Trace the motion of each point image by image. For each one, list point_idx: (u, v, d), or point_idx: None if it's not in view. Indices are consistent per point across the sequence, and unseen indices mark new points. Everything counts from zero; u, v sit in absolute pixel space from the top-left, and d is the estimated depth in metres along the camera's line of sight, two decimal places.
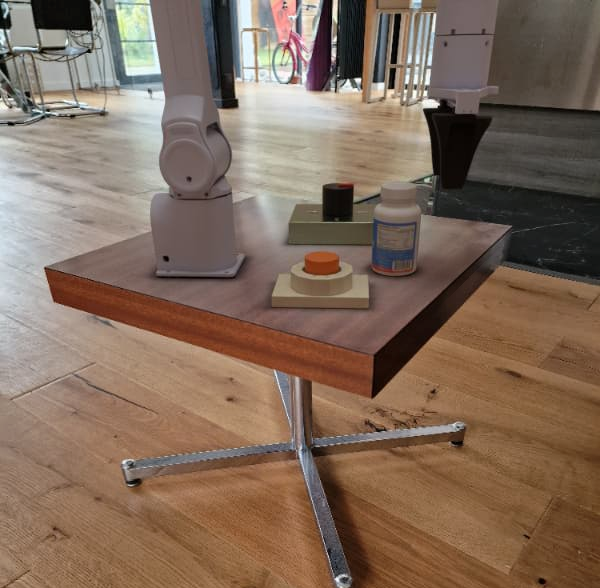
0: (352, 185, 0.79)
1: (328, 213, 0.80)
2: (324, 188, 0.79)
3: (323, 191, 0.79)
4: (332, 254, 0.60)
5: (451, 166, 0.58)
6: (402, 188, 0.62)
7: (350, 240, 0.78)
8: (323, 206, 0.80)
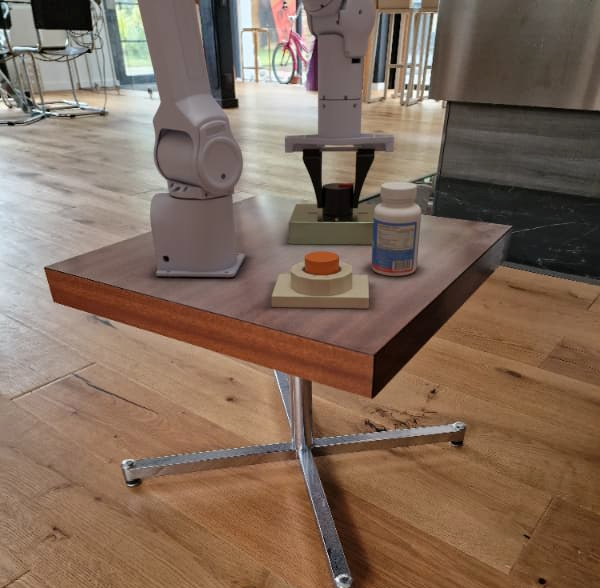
0: (352, 185, 0.79)
1: (328, 213, 0.80)
2: (324, 188, 0.79)
3: (323, 191, 0.79)
4: (332, 254, 0.60)
5: None
6: (402, 188, 0.62)
7: (350, 240, 0.78)
8: (323, 206, 0.80)
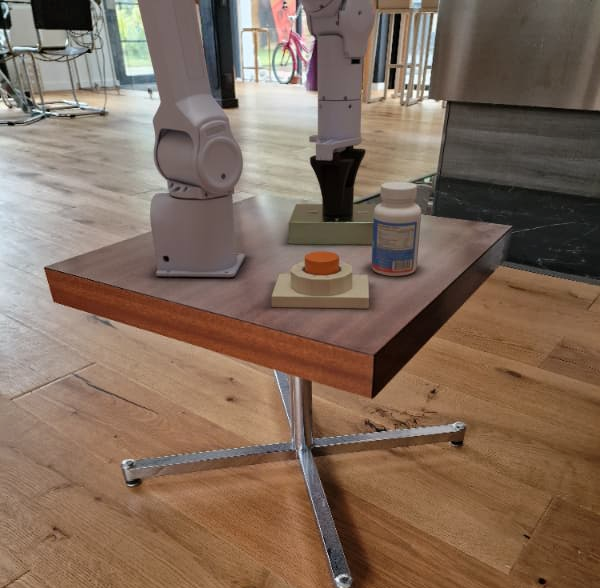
0: None
1: (347, 213, 0.80)
2: None
3: None
4: (332, 254, 0.60)
5: None
6: (402, 188, 0.62)
7: (350, 240, 0.78)
8: None
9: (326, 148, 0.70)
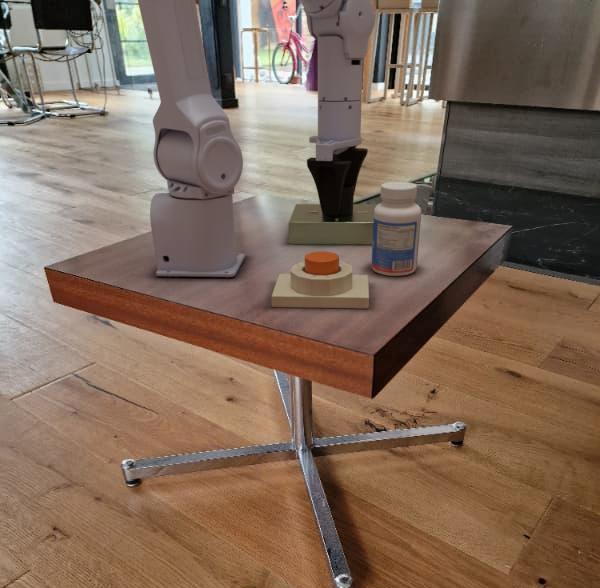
0: None
1: (347, 213, 0.80)
2: (342, 189, 0.78)
3: None
4: (332, 254, 0.60)
5: None
6: (402, 188, 0.62)
7: (350, 240, 0.78)
8: (339, 208, 0.79)
9: (326, 149, 0.70)
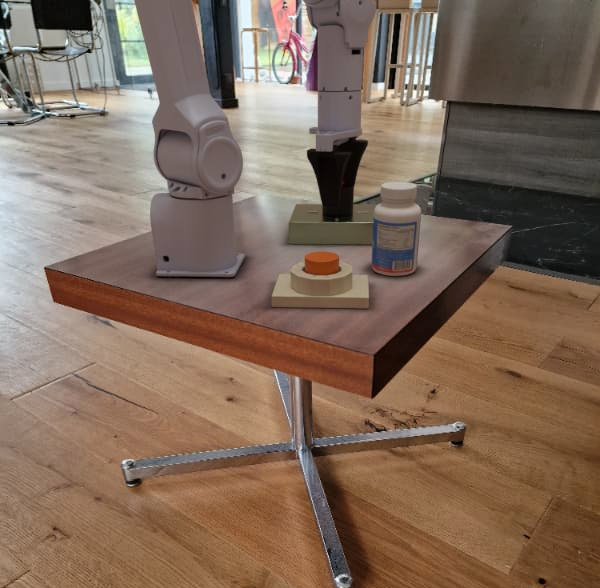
0: None
1: (347, 213, 0.80)
2: (342, 189, 0.78)
3: None
4: (332, 254, 0.60)
5: None
6: (402, 188, 0.62)
7: (350, 240, 0.78)
8: (339, 208, 0.79)
9: (326, 139, 0.70)
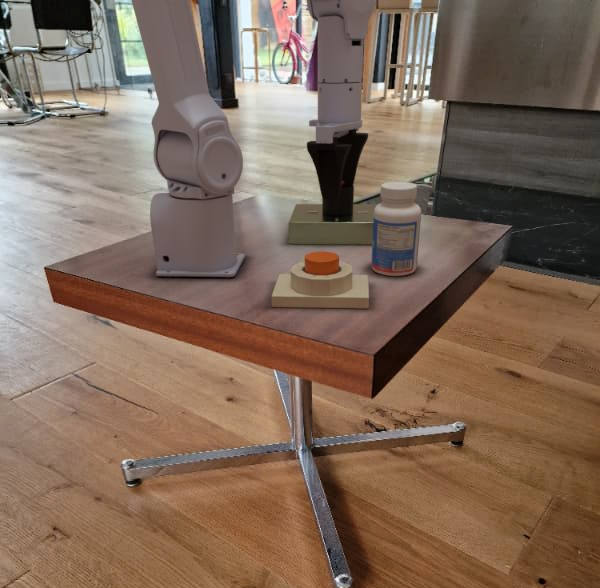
0: None
1: (347, 213, 0.80)
2: (342, 189, 0.78)
3: None
4: (332, 254, 0.60)
5: None
6: (402, 188, 0.62)
7: (350, 240, 0.78)
8: (339, 208, 0.79)
9: (326, 131, 0.69)
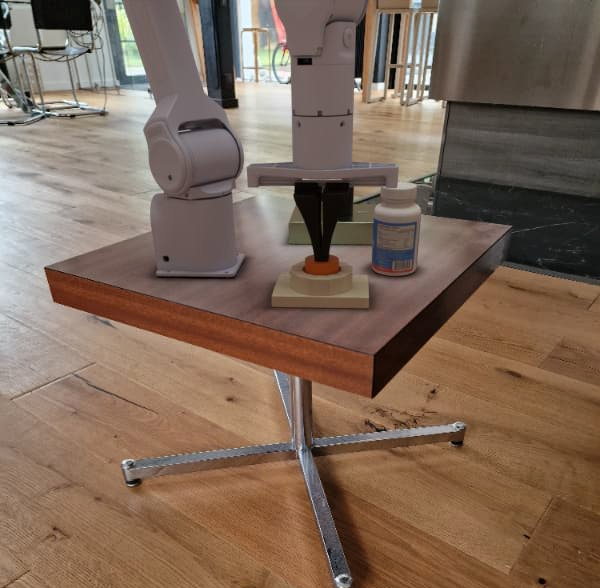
0: None
1: (347, 213, 0.80)
2: None
3: None
4: (332, 257, 0.60)
5: None
6: (402, 188, 0.62)
7: (350, 240, 0.78)
8: None
9: None
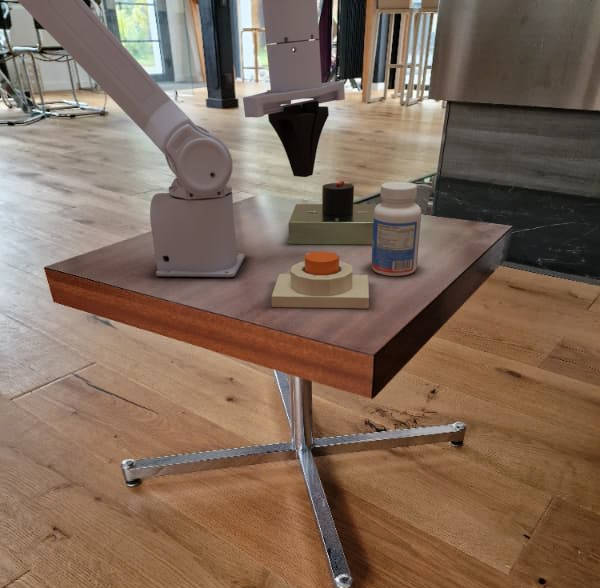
0: None
1: (347, 213, 0.80)
2: (342, 189, 0.78)
3: (339, 193, 0.78)
4: (332, 254, 0.60)
5: None
6: (402, 188, 0.62)
7: (350, 240, 0.78)
8: (339, 208, 0.79)
9: (252, 102, 0.59)
